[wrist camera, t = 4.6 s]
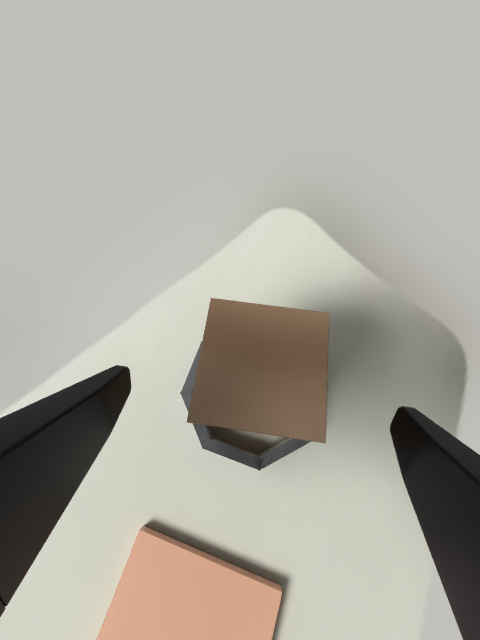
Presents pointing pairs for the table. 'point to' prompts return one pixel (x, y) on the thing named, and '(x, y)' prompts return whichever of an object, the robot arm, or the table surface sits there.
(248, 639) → the terracotta mat
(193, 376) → the metal ring
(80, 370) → the table surface
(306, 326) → the walnut block
